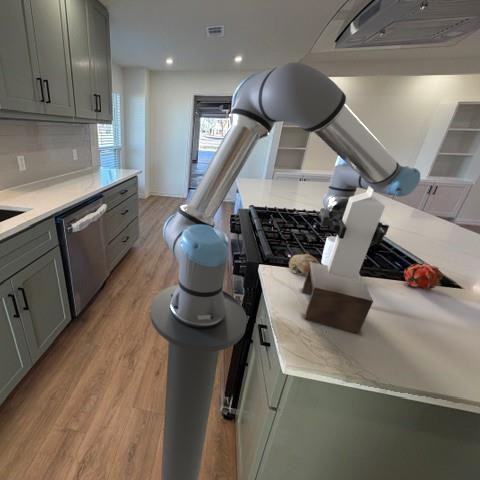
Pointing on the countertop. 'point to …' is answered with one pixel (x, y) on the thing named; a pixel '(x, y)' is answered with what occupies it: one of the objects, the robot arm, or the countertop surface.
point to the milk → (355, 234)
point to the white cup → (328, 249)
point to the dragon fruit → (423, 276)
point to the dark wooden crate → (336, 299)
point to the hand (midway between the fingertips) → (361, 235)
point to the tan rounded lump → (301, 263)
